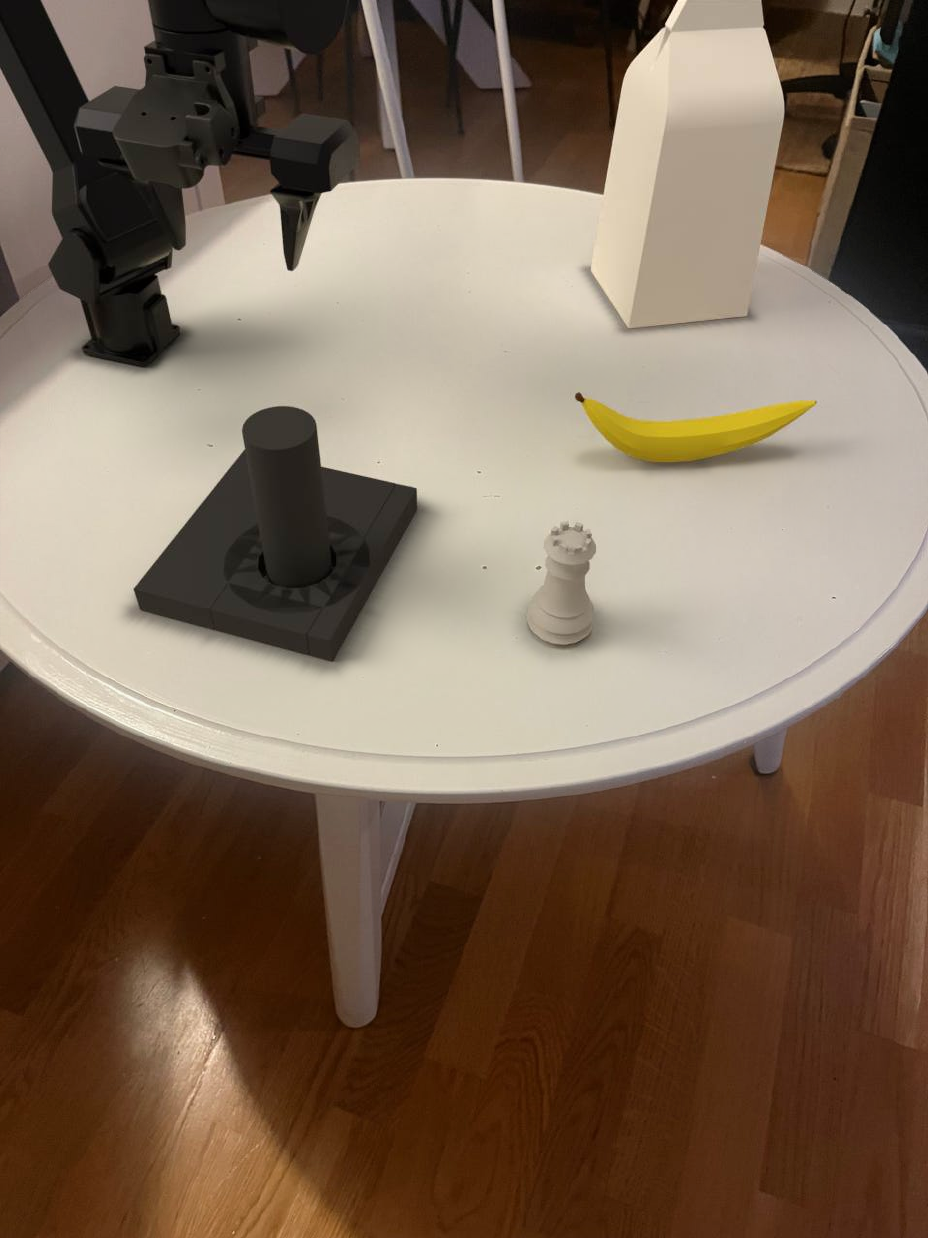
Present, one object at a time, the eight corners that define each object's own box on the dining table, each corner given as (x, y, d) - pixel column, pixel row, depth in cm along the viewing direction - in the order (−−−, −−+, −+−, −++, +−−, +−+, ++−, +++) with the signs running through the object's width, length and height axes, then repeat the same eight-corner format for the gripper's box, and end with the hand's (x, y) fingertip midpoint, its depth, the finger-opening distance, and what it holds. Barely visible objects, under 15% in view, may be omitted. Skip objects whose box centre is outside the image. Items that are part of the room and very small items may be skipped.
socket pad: (139, 610, 65) (132, 588, 64) (248, 469, 76) (244, 448, 74) (332, 661, 63) (330, 641, 61) (417, 508, 73) (417, 487, 72)
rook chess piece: (522, 601, 67) (530, 512, 61) (586, 598, 67) (601, 509, 61) (530, 650, 64) (540, 561, 58) (598, 647, 64) (614, 558, 58)
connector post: (278, 557, 69) (253, 402, 60) (339, 564, 69) (324, 409, 59) (261, 601, 66) (232, 445, 57) (325, 608, 66) (306, 452, 56)
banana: (805, 464, 78) (828, 396, 73) (570, 473, 76) (578, 405, 72) (793, 442, 80) (815, 374, 75) (564, 451, 78) (572, 383, 74)
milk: (628, 328, 91) (678, 13, 72) (590, 270, 99) (626, -29, 80) (746, 315, 93) (825, 5, 74) (700, 259, 101) (761, -35, 82)
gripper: (-11, 39, 57) (63, 287, 69) (278, 80, 54) (306, 335, 65) (95, -11, 65) (146, 220, 76) (356, 22, 61) (368, 260, 72)
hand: (235, 258), depth 72 cm, fingers open, 9 cm apart
